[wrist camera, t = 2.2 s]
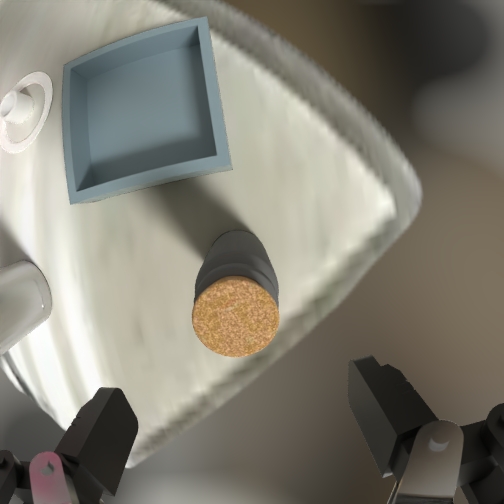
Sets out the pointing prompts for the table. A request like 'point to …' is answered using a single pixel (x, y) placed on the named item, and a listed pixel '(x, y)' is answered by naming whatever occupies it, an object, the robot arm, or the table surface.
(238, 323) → the bottle
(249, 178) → the table surface
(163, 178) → the tote
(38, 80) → the candle holder
